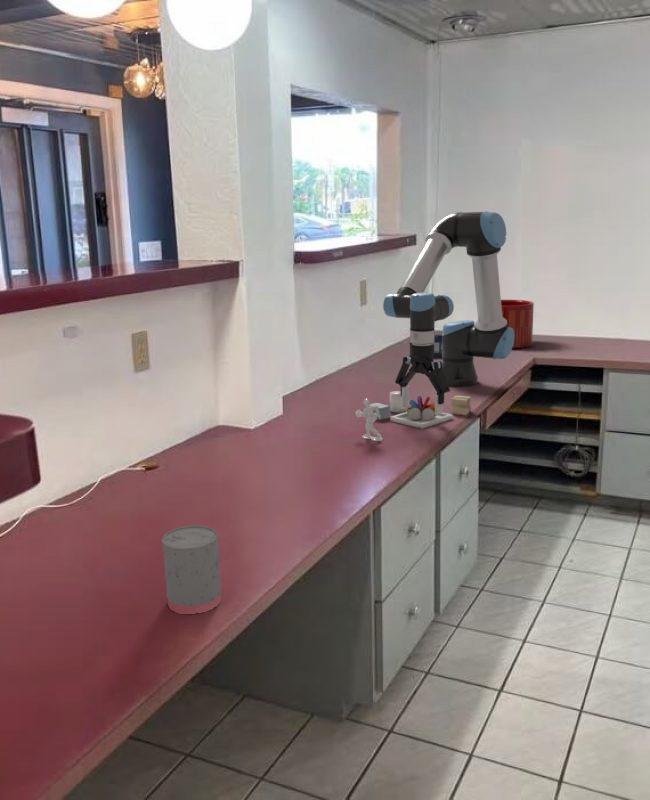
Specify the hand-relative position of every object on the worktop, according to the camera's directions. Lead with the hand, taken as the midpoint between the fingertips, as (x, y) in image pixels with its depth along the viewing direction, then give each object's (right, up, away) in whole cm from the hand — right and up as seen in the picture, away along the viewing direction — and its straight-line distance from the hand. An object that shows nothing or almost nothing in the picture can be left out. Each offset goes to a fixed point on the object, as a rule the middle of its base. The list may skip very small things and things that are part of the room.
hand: (421, 410), depth 247 cm
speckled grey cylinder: (-54, -33, -109) cm, 126 cm away
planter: (+55, +29, +122) cm, 137 cm away
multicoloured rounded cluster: (0, -3, +1) cm, 3 cm away
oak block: (+14, -1, +8) cm, 16 cm away
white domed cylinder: (-6, 0, +13) cm, 14 cm away
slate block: (-13, -2, +5) cm, 14 cm away
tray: (0, -3, +1) cm, 3 cm away
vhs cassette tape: (+16, +22, +99) cm, 103 cm away
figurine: (-18, -8, -17) cm, 26 cm away
